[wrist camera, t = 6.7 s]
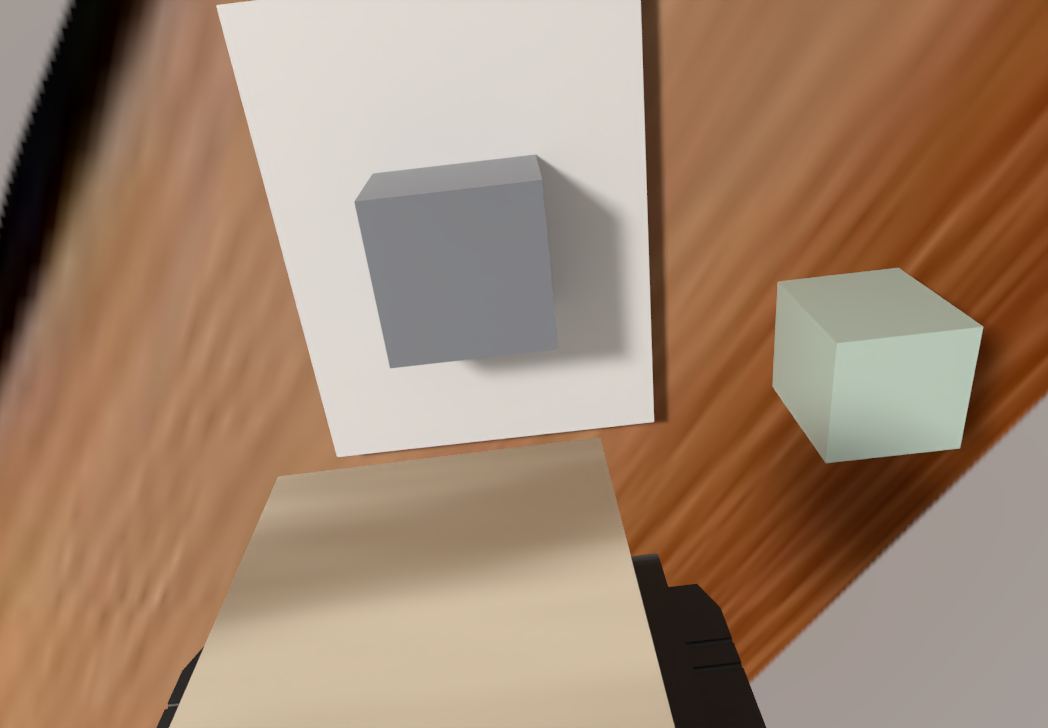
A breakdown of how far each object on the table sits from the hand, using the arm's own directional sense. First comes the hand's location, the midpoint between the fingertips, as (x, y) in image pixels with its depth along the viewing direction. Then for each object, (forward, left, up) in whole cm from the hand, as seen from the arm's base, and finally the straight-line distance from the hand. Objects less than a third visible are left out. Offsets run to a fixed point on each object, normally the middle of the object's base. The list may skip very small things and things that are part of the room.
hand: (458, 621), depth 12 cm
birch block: (0, 0, -1) cm, 1 cm away
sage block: (+6, +15, -20) cm, 25 cm away
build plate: (0, 0, -20) cm, 20 cm away
